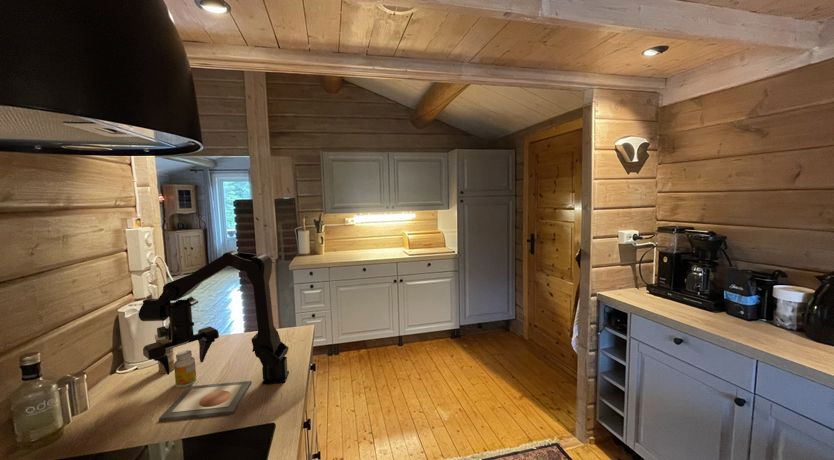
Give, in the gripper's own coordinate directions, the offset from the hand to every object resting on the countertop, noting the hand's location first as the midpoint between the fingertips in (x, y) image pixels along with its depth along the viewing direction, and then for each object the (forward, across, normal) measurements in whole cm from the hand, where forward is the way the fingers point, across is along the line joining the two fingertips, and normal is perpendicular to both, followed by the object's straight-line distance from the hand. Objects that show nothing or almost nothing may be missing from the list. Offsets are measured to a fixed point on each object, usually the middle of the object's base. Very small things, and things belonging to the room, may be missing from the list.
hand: (185, 368), depth 106 cm
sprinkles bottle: (+5, +1, -14) cm, 15 cm away
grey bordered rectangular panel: (+5, 0, +16) cm, 17 cm away
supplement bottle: (+5, 0, 0) cm, 5 cm away
